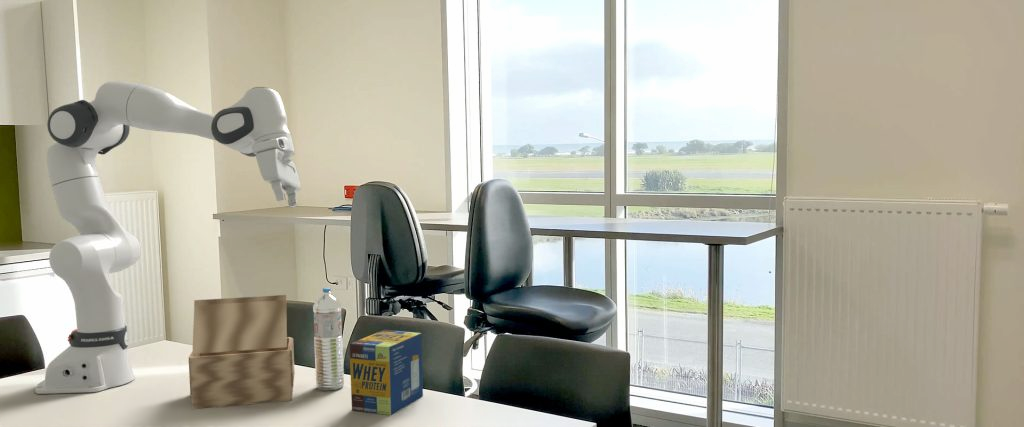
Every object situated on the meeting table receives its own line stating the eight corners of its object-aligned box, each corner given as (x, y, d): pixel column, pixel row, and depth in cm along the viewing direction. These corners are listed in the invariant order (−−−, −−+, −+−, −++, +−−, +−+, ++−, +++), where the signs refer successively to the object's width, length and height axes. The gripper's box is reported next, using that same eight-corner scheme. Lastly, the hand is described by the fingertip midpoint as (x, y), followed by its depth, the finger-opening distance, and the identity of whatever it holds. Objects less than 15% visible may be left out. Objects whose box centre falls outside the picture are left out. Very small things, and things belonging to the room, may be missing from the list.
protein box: (350, 411, 177) (348, 343, 176) (386, 391, 191) (384, 329, 190) (391, 416, 173) (388, 346, 172) (424, 396, 187) (422, 331, 186)
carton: (190, 409, 180) (188, 358, 179) (199, 391, 194) (197, 343, 193) (293, 400, 185) (291, 350, 185) (295, 383, 199) (293, 337, 199)
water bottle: (337, 392, 191) (333, 290, 189) (311, 391, 193) (307, 290, 191) (348, 384, 198) (345, 286, 196) (323, 383, 199) (319, 285, 197)
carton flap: (192, 354, 180) (192, 353, 179) (194, 301, 185) (194, 300, 185) (286, 347, 185) (286, 346, 184) (286, 295, 190) (286, 294, 190)
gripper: (276, 161, 203) (288, 212, 201) (248, 144, 183) (261, 201, 181) (300, 155, 203) (311, 206, 201) (274, 137, 183) (287, 194, 181)
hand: (287, 203), depth 191 cm, fingers open, 8 cm apart
